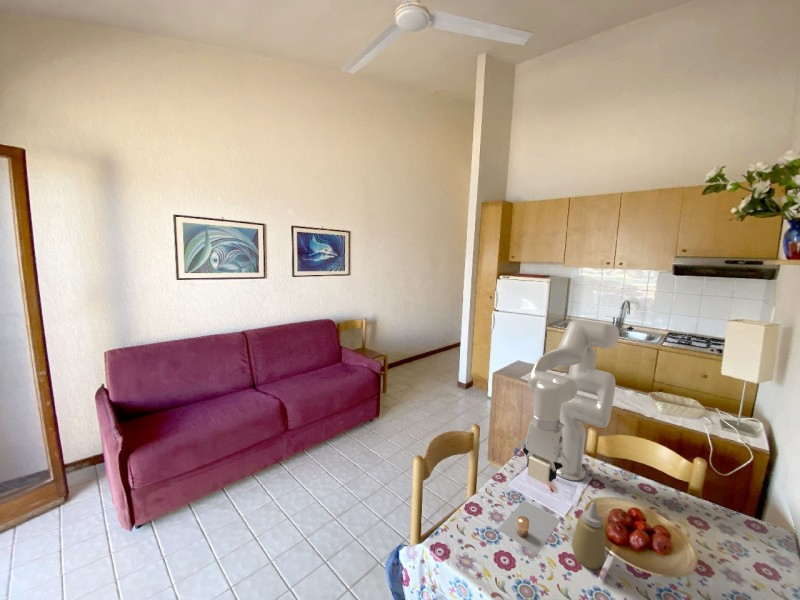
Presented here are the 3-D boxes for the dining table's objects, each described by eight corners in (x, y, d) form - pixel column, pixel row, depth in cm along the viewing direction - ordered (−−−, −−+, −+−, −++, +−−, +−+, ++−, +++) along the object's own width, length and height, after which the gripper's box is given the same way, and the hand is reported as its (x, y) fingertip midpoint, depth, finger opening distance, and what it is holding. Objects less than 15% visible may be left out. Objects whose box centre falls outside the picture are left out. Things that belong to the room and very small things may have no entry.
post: (519, 527, 104) (520, 514, 104) (529, 533, 102) (531, 520, 101) (514, 533, 102) (516, 519, 101) (525, 539, 100) (526, 526, 99)
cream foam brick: (535, 466, 112) (537, 449, 111) (554, 475, 108) (556, 457, 107) (527, 475, 107) (529, 457, 106) (546, 484, 103) (548, 466, 102)
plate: (523, 503, 116) (523, 499, 116) (560, 523, 108) (560, 520, 108) (497, 532, 103) (497, 529, 103) (536, 558, 95) (536, 554, 95)
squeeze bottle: (586, 579, 90) (594, 517, 87) (563, 553, 97) (570, 495, 95) (610, 572, 92) (618, 511, 89) (586, 546, 99) (593, 490, 97)
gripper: (580, 427, 101) (574, 482, 104) (524, 407, 113) (520, 457, 116) (571, 437, 96) (565, 494, 99) (513, 415, 108) (509, 467, 111)
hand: (541, 473), depth 107 cm, fingers closed on cream foam brick, 5 cm apart
